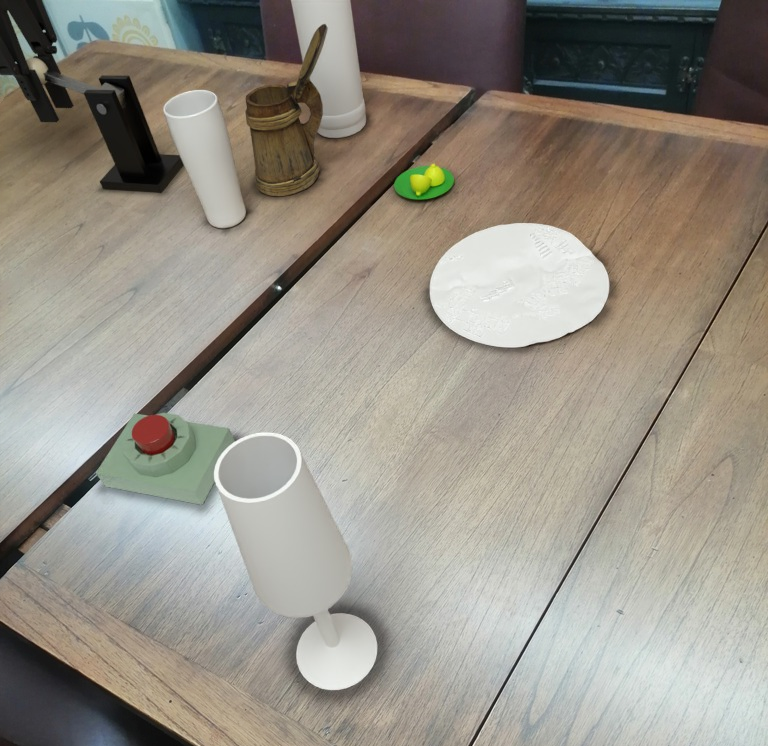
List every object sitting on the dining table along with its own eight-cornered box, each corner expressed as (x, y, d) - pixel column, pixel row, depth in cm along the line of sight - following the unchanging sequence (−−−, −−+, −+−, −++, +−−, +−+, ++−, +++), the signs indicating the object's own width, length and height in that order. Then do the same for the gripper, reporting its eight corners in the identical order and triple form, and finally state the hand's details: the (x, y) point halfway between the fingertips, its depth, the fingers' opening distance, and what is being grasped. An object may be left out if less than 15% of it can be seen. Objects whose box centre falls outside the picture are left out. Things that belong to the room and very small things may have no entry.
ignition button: (132, 452, 66) (124, 440, 65) (149, 424, 68) (142, 412, 67) (164, 457, 65) (157, 445, 64) (181, 429, 67) (175, 417, 66)
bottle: (304, 133, 105) (251, -129, 80) (335, 108, 108) (293, -150, 84) (346, 143, 102) (303, -126, 77) (377, 118, 105) (345, -148, 80)
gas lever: (21, 85, 95) (15, 60, 92) (34, 74, 97) (28, 49, 94) (118, 119, 95) (114, 95, 92) (129, 107, 97) (125, 84, 94)
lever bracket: (102, 189, 102) (59, 98, 92) (128, 160, 107) (90, 69, 96) (161, 192, 100) (124, 99, 90) (185, 162, 104) (152, 70, 94)
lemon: (444, 206, 90) (443, 185, 87) (386, 201, 92) (384, 181, 90) (460, 172, 94) (460, 151, 91) (405, 168, 96) (403, 148, 94)
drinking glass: (198, 214, 95) (156, 100, 83) (244, 198, 96) (209, 83, 84) (210, 239, 92) (168, 123, 79) (258, 222, 93) (224, 105, 80)
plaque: (486, 215, 87) (486, 204, 85) (638, 261, 79) (641, 250, 78) (396, 315, 79) (395, 305, 78) (555, 377, 71) (556, 367, 70)
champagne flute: (387, 674, 54) (334, 495, 35) (305, 701, 54) (204, 535, 34) (365, 602, 58) (305, 404, 39) (288, 627, 58) (188, 439, 38)
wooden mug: (351, 186, 95) (327, 39, 80) (255, 200, 96) (214, 57, 81) (349, 153, 100) (326, 8, 85) (257, 166, 101) (219, 26, 86)
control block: (105, 486, 69) (86, 461, 66) (142, 427, 73) (126, 400, 70) (202, 505, 66) (188, 480, 63) (235, 442, 70) (223, 415, 67)
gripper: (-64, -73, 75) (48, 145, 94) (20, -123, 83) (107, 86, 102) (-117, -70, 76) (3, 143, 96) (-30, -119, 85) (65, 85, 104)
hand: (57, 113), depth 99 cm, fingers closed on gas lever, 3 cm apart
